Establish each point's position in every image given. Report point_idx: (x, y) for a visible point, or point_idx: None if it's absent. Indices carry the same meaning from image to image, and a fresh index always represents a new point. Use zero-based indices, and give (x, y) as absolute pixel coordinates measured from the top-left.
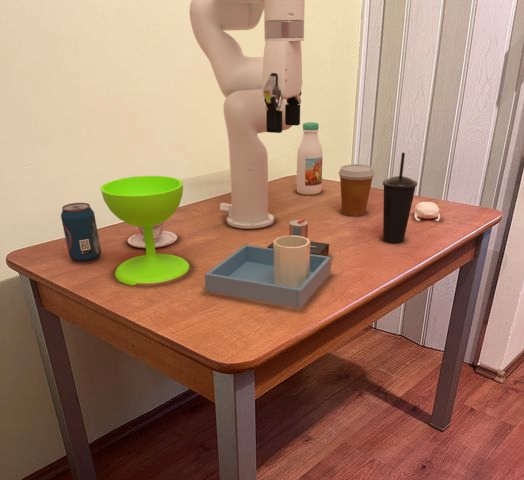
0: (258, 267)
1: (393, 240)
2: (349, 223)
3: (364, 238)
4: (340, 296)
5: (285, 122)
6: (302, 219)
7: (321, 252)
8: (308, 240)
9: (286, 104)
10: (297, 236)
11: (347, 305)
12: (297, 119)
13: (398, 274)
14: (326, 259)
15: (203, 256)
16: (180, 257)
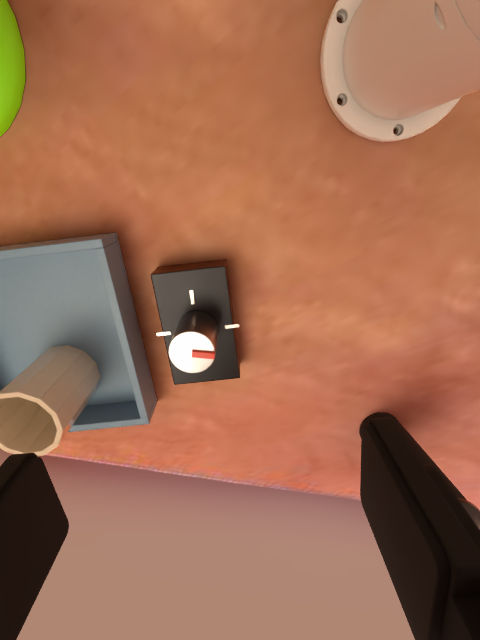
0: (97, 282)
1: (361, 438)
2: (463, 320)
3: (369, 382)
4: (96, 441)
5: (366, 431)
6: (210, 355)
7: (191, 382)
8: (50, 449)
9: (466, 574)
10: (55, 422)
11: (76, 458)
12: (375, 530)
13: (222, 477)
14: (132, 421)
15: (84, 108)
16: (6, 73)
